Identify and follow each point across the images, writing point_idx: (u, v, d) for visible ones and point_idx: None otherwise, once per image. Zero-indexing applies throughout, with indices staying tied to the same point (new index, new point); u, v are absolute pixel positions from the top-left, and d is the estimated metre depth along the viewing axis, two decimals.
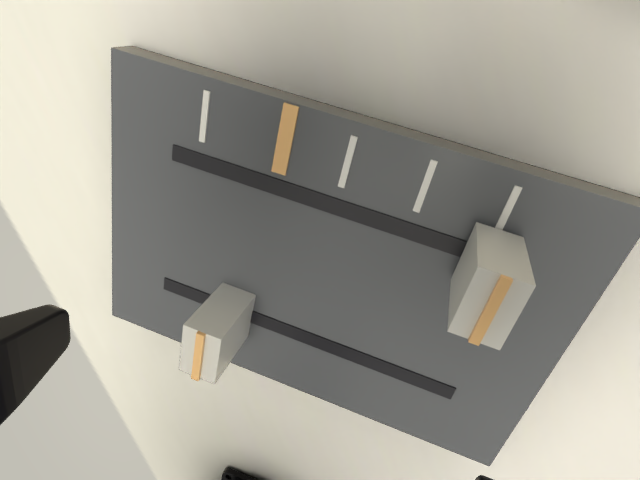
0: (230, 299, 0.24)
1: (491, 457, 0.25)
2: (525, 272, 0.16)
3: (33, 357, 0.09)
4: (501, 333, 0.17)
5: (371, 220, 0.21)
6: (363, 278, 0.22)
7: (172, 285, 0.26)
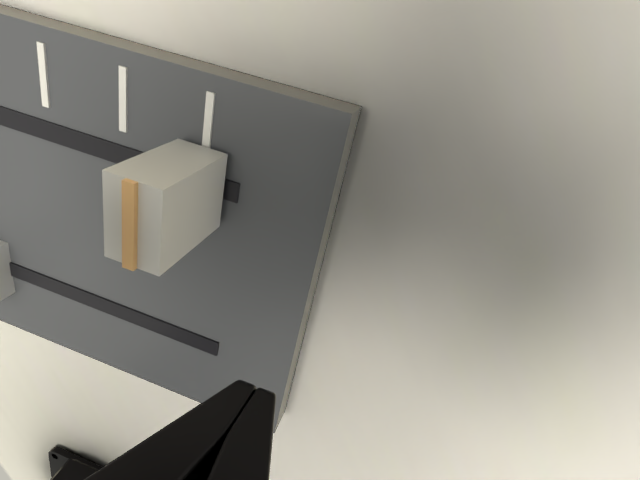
0: None
1: None
2: (170, 179, 0.14)
3: None
4: (153, 254, 0.14)
5: (85, 145, 0.18)
6: (98, 216, 0.20)
7: None
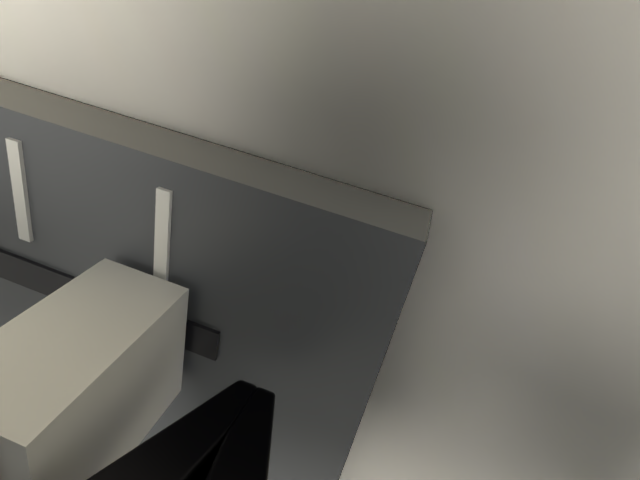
0: None
1: None
2: (54, 396, 0.07)
3: None
4: None
5: None
6: None
7: None
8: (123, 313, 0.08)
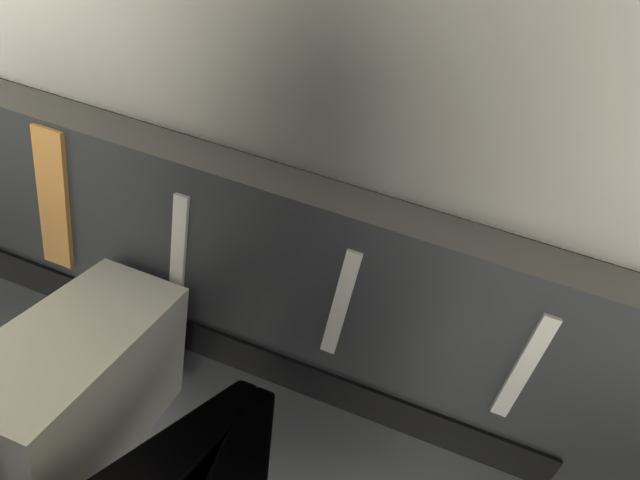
0: None
1: None
2: (55, 396, 0.07)
3: None
4: None
5: (243, 357, 0.10)
6: None
7: None
8: (123, 313, 0.08)
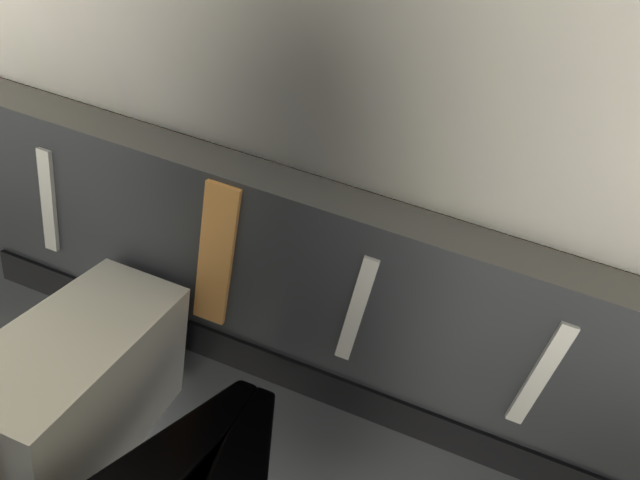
0: None
1: None
2: (57, 396, 0.07)
3: None
4: None
5: (407, 421, 0.10)
6: None
7: None
8: (125, 313, 0.08)
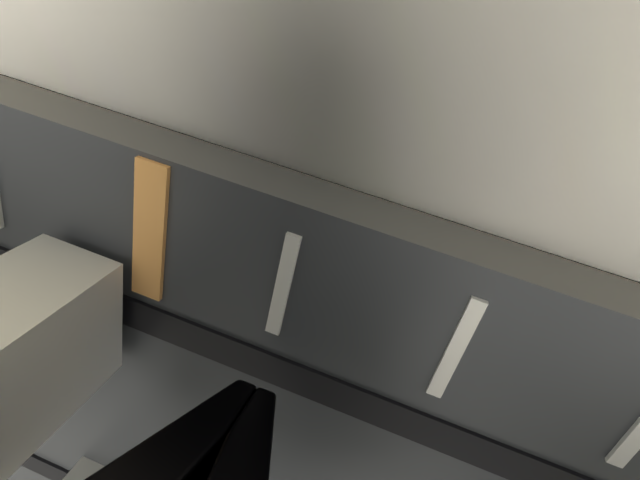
0: None
1: None
2: None
3: None
4: None
5: (337, 396, 0.10)
6: None
7: None
8: (51, 284, 0.09)
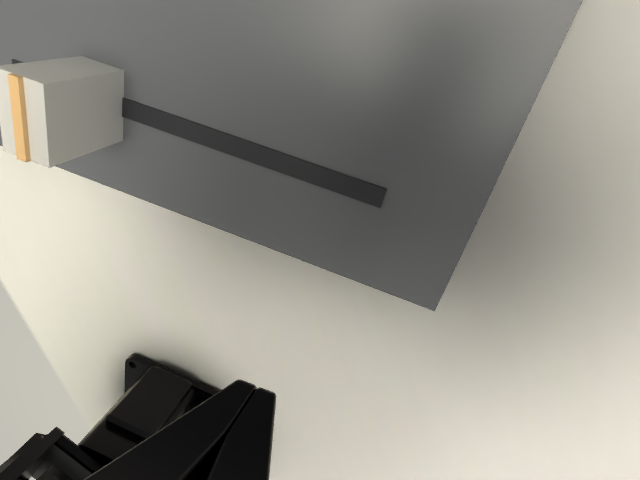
0: (83, 66, 0.17)
1: (436, 296, 0.19)
2: None
3: None
4: None
5: None
6: (255, 18, 0.16)
7: None
8: None
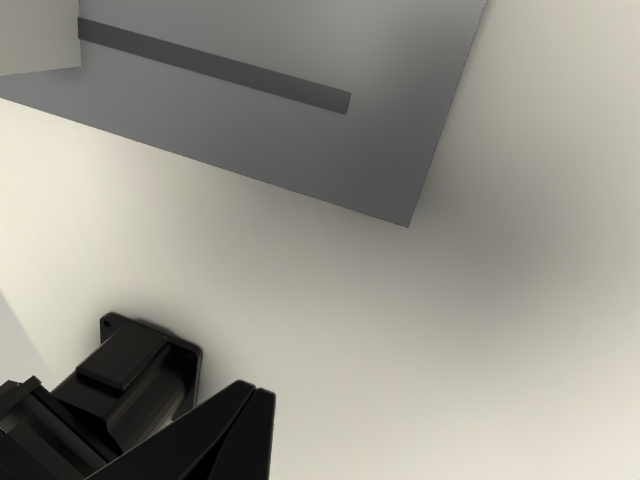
0: None
1: (409, 211, 0.18)
2: None
3: None
4: None
5: None
6: None
7: None
8: None
